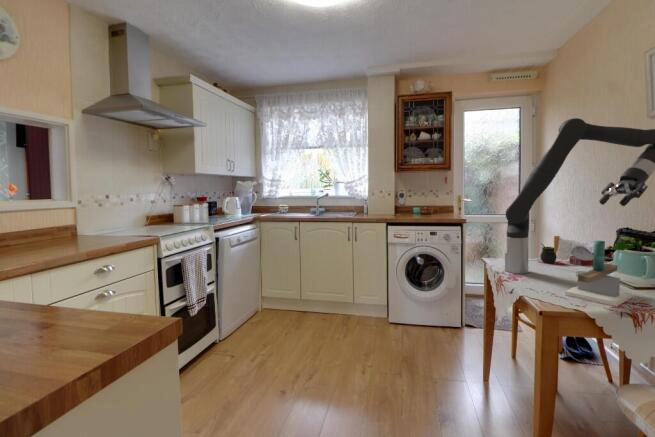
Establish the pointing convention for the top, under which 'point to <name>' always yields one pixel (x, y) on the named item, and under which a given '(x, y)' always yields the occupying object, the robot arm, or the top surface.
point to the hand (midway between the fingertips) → (611, 204)
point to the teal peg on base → (598, 265)
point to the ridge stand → (600, 291)
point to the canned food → (581, 256)
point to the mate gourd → (548, 254)
